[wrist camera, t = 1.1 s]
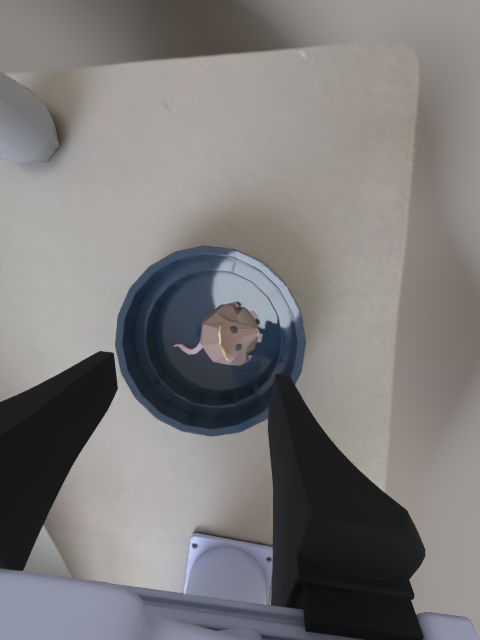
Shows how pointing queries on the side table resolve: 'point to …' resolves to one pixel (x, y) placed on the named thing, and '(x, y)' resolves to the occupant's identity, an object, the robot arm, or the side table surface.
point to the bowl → (185, 328)
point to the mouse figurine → (228, 335)
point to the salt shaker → (24, 125)
